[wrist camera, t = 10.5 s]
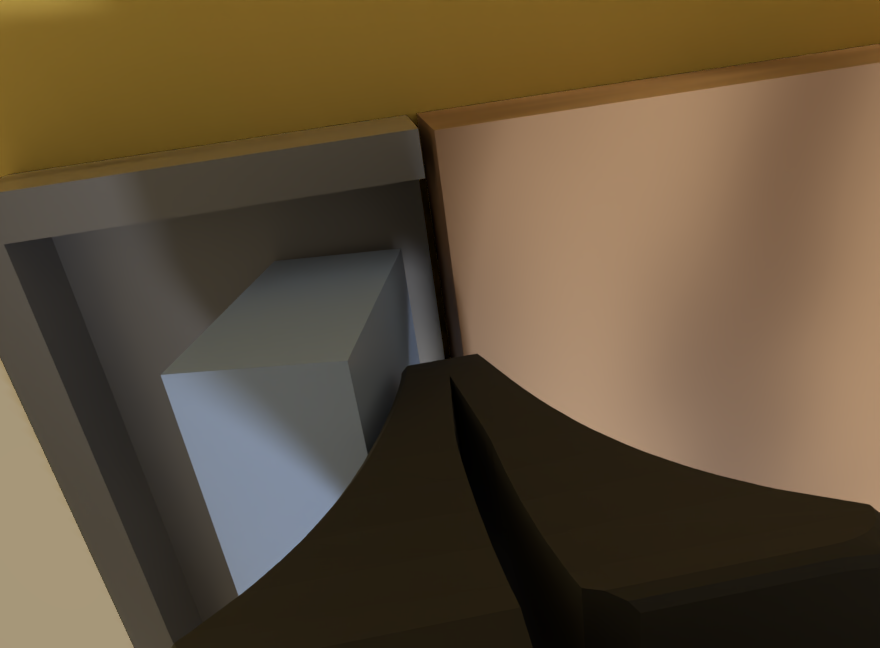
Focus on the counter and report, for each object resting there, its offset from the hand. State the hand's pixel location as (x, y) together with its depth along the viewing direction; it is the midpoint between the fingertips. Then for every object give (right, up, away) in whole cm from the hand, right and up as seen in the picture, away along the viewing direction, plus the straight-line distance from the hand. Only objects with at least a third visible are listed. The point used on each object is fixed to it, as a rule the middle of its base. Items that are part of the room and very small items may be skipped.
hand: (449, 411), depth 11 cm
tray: (-3, -4, +5) cm, 8 cm away
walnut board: (+6, -2, +6) cm, 9 cm away
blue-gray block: (-1, 0, 0) cm, 1 cm away
